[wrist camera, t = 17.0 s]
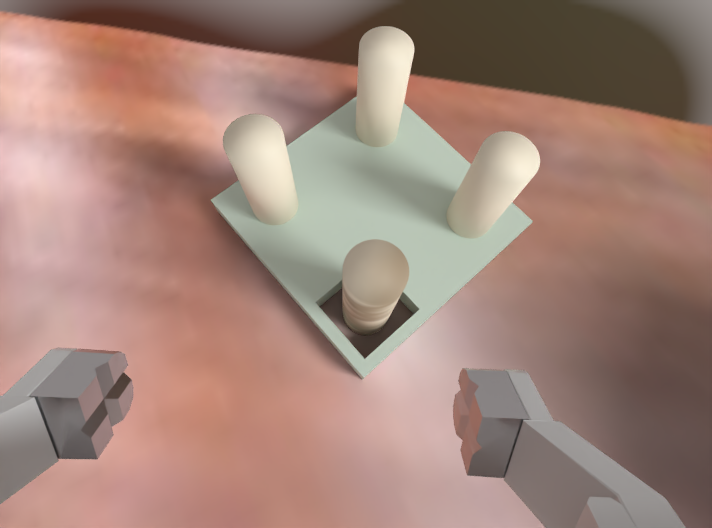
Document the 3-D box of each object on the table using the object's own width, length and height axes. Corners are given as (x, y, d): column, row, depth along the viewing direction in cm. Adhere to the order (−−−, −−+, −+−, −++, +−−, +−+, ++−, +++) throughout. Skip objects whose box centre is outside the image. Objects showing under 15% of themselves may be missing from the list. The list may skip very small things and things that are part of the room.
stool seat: (218, 212, 39) (167, 133, 28) (377, 97, 44) (389, -11, 32) (362, 379, 35) (371, 367, 23) (521, 232, 39) (594, 162, 28)
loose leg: (335, 323, 36) (331, 286, 25) (353, 282, 37) (358, 229, 26) (378, 342, 36) (394, 313, 24) (395, 300, 37) (418, 254, 26)
